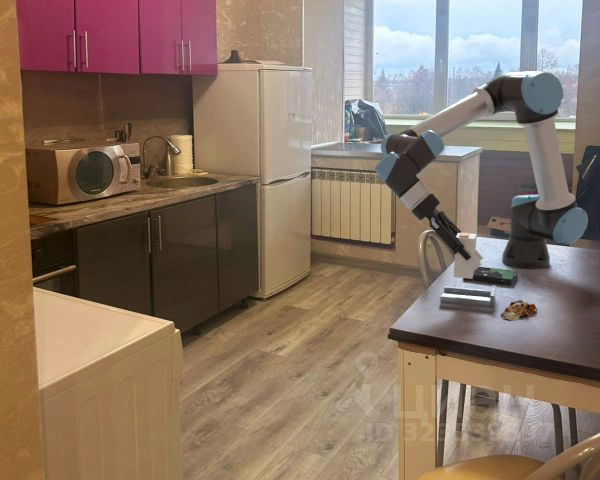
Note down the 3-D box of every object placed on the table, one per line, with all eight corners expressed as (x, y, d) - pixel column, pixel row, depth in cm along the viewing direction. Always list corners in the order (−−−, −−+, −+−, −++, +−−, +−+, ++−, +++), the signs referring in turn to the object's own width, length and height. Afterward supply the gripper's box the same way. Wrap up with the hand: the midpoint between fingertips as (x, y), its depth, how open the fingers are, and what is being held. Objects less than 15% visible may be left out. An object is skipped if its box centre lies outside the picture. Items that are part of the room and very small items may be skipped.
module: (474, 272, 181) (476, 232, 178) (472, 278, 175) (475, 237, 173) (455, 271, 182) (457, 231, 180) (453, 277, 177) (455, 236, 174)
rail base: (495, 298, 184) (496, 284, 183) (493, 312, 173) (494, 297, 172) (444, 293, 188) (445, 280, 187) (439, 307, 177) (440, 292, 176)
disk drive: (462, 282, 201) (512, 288, 195) (462, 273, 200) (513, 279, 194) (469, 273, 210) (517, 278, 204) (469, 265, 209) (517, 270, 203)
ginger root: (497, 319, 169) (498, 306, 168) (514, 306, 178) (515, 294, 178) (523, 325, 165) (524, 311, 164) (539, 312, 174) (540, 299, 173)
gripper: (415, 204, 188) (470, 263, 187) (404, 216, 171) (465, 282, 169) (435, 187, 185) (491, 247, 184) (425, 197, 168) (487, 264, 167)
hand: (478, 264), depth 177 cm, fingers closed on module, 6 cm apart
